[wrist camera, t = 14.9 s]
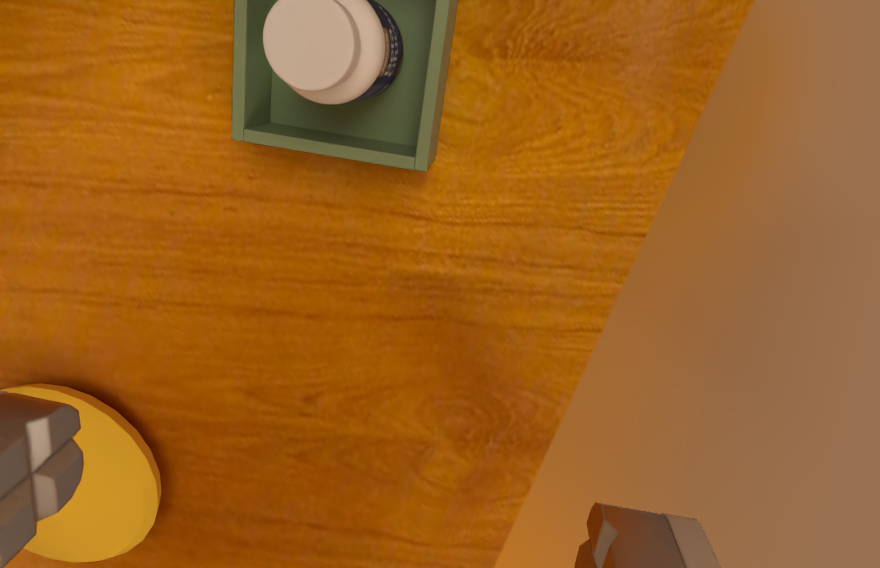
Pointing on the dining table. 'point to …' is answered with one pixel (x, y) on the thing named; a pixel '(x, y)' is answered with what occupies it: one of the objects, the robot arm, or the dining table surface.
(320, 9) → the pill bottle
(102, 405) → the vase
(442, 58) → the green bin
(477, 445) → the dining table surface
